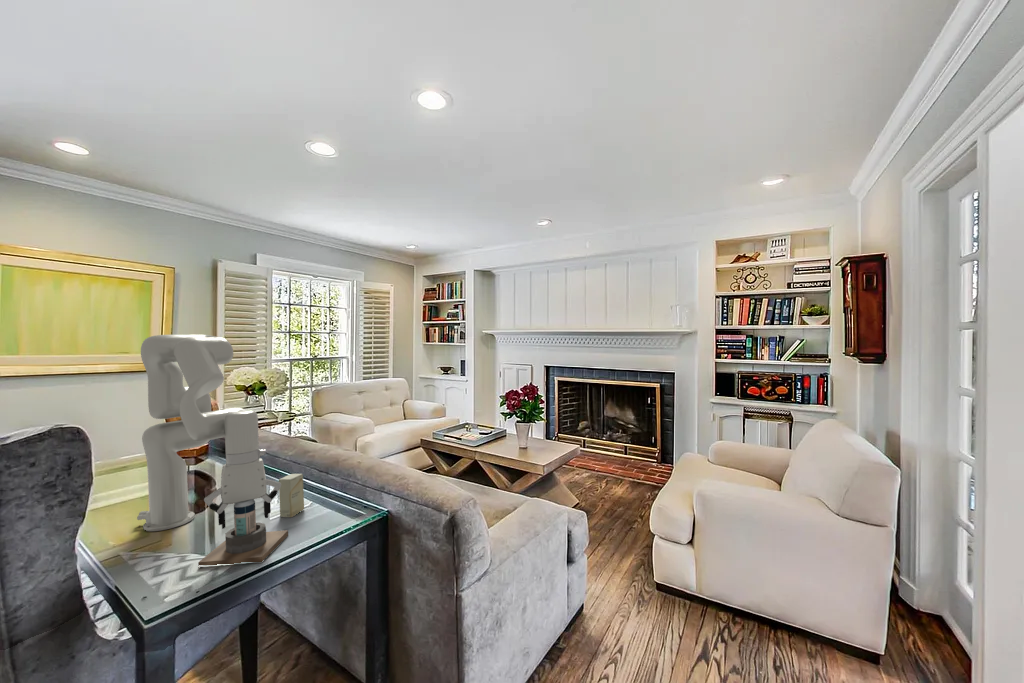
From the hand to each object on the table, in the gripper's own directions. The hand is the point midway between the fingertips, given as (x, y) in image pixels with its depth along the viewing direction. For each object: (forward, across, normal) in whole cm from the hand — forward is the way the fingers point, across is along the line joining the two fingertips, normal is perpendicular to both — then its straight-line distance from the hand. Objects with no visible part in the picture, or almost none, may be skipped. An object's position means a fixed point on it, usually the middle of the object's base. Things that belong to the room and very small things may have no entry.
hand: (245, 521), depth 112 cm
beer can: (+6, 0, 0) cm, 7 cm away
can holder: (+8, 0, 0) cm, 8 cm away
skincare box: (+8, -14, -20) cm, 25 cm away
